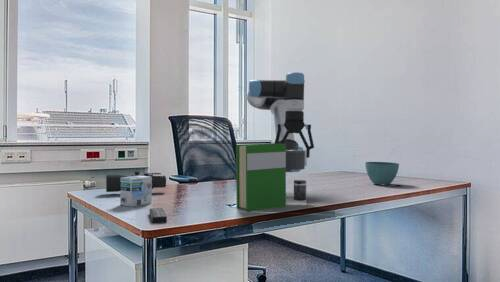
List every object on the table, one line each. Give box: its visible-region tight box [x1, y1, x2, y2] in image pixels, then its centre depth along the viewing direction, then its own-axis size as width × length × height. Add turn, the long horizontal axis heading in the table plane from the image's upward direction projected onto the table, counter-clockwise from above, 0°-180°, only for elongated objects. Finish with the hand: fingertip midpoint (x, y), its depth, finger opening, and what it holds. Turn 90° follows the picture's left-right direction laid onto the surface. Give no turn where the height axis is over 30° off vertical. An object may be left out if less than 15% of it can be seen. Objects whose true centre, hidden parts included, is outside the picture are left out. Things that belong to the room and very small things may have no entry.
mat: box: [286, 197, 307, 206], centre depth 168 cm, size 12×16×1 cm
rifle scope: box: [105, 171, 167, 193], centre depth 186 cm, size 10×26×10 cm, turn 110°
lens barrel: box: [293, 179, 307, 201], centre depth 172 cm, size 5×5×8 cm
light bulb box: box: [119, 174, 153, 208], centre depth 158 cm, size 11×7×11 cm, turn 148°
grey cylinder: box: [286, 149, 306, 171], centre depth 167 cm, size 9×9×8 cm
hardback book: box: [235, 142, 287, 213], centre depth 153 cm, size 18×7×24 cm, turn 124°
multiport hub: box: [149, 207, 168, 224], centre depth 134 cm, size 4×14×2 cm, turn 18°
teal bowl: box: [364, 161, 400, 186], centre depth 230 cm, size 18×18×12 cm
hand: (293, 165), depth 167 cm, fingers closed on grey cylinder, 9 cm apart
